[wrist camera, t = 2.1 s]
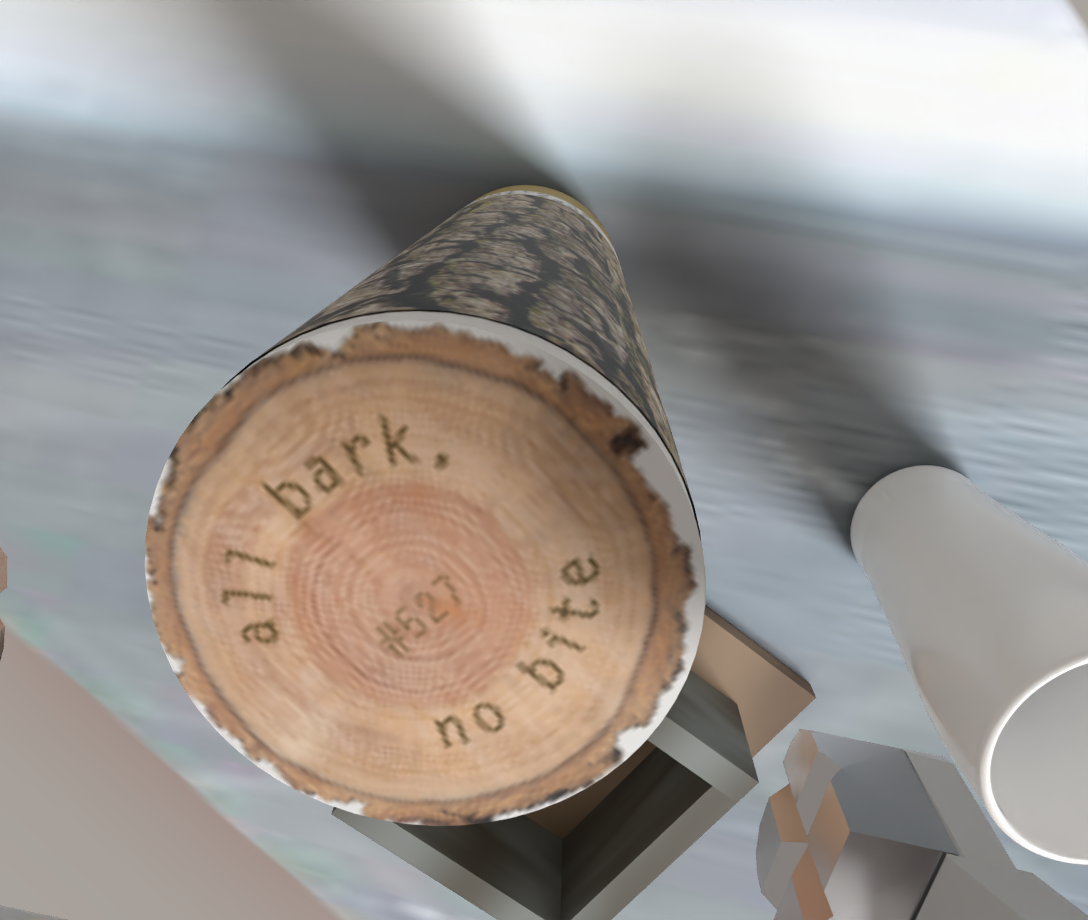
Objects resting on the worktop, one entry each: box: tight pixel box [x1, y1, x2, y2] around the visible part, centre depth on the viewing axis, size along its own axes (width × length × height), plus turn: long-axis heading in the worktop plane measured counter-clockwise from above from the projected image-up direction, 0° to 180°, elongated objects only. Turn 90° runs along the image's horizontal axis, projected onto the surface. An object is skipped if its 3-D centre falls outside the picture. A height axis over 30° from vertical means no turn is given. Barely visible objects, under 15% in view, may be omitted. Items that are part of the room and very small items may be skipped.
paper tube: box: [145, 185, 706, 826], centre depth 23 cm, size 7×7×25 cm
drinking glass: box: [850, 465, 1088, 865], centre depth 31 cm, size 7×7×15 cm
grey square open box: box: [332, 606, 816, 920], centre depth 38 cm, size 16×16×6 cm
